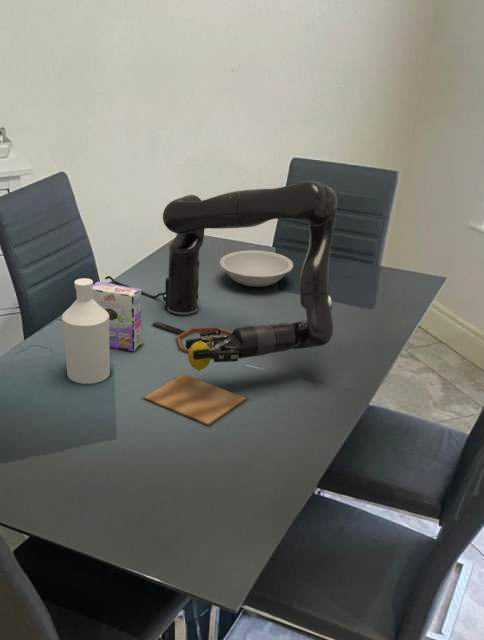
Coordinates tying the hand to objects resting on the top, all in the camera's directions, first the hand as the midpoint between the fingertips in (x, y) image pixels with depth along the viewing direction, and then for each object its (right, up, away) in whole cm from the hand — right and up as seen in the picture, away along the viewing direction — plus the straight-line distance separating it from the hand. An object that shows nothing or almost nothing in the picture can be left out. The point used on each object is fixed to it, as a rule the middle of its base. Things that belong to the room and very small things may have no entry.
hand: (190, 349), depth 182 cm
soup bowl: (+26, +37, +65) cm, 79 cm away
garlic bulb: (+44, +24, +49) cm, 70 cm away
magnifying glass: (+3, +10, +32) cm, 34 cm away
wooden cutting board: (+1, -12, +4) cm, 12 cm away
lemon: (+3, -4, +4) cm, 7 cm away
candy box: (-19, +8, +29) cm, 36 cm away
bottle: (-26, -3, +15) cm, 30 cm away
